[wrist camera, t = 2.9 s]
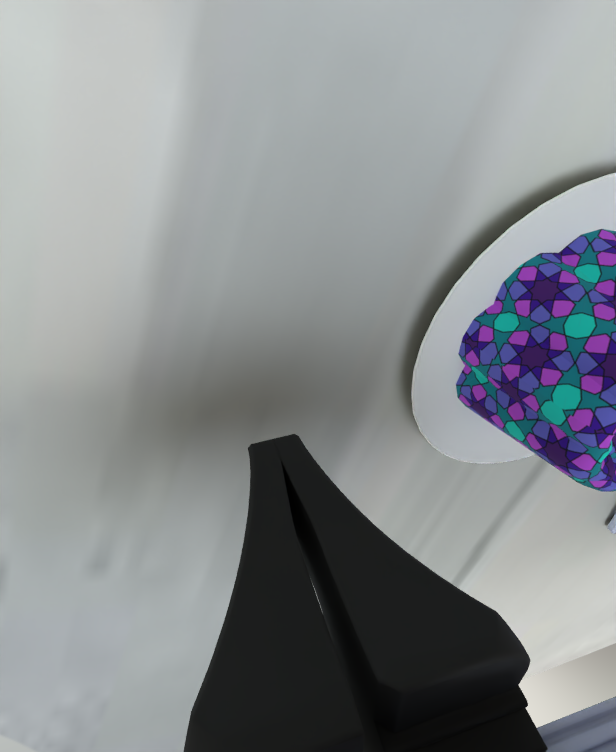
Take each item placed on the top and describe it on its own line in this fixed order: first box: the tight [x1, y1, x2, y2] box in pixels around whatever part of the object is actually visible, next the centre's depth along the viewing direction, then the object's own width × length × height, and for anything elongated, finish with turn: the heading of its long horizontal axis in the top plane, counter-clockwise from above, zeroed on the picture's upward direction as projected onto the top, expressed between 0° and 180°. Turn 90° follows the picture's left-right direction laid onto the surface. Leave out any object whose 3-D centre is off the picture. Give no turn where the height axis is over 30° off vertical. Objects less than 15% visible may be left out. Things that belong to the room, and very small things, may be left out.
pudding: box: [411, 173, 616, 491], centre depth 15 cm, size 12×12×5 cm
